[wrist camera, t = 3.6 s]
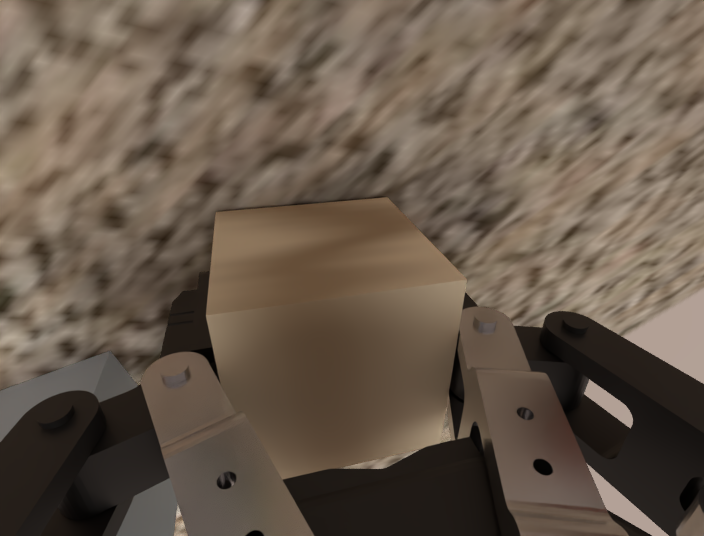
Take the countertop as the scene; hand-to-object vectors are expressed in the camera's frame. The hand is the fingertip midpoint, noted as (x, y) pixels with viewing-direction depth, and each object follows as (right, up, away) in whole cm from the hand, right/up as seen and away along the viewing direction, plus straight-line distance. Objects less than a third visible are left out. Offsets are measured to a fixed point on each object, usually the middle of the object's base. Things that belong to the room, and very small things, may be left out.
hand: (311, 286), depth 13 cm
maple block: (0, 0, 0) cm, 0 cm away
